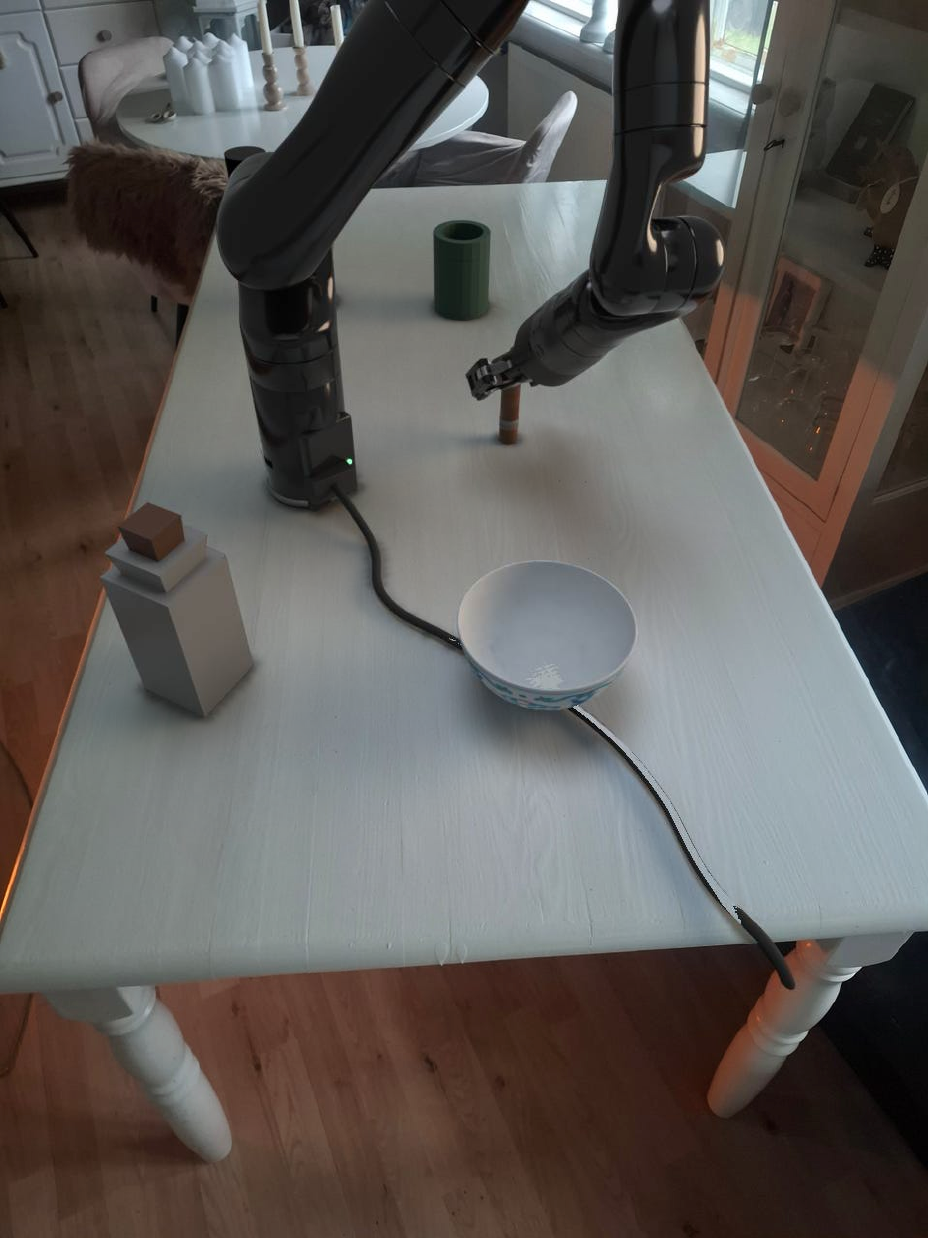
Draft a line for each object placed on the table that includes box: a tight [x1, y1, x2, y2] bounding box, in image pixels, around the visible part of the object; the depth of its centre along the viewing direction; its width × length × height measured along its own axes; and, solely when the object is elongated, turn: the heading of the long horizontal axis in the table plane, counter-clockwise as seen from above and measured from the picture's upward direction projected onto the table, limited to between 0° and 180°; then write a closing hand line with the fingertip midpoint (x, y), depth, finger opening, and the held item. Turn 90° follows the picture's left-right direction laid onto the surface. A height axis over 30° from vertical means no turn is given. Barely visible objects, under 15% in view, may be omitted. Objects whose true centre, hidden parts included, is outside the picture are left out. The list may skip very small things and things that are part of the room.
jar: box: [432, 219, 492, 321], centre depth 122 cm, size 8×8×11 cm
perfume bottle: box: [99, 501, 254, 718], centre depth 70 cm, size 7×7×18 cm
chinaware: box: [456, 559, 638, 712], centre depth 74 cm, size 15×15×8 cm
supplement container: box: [223, 145, 267, 181], centre depth 143 cm, size 7×7×10 cm
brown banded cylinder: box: [498, 377, 522, 445], centre depth 100 cm, size 2×2×10 cm
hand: (504, 384), depth 100 cm, fingers open, 6 cm apart
